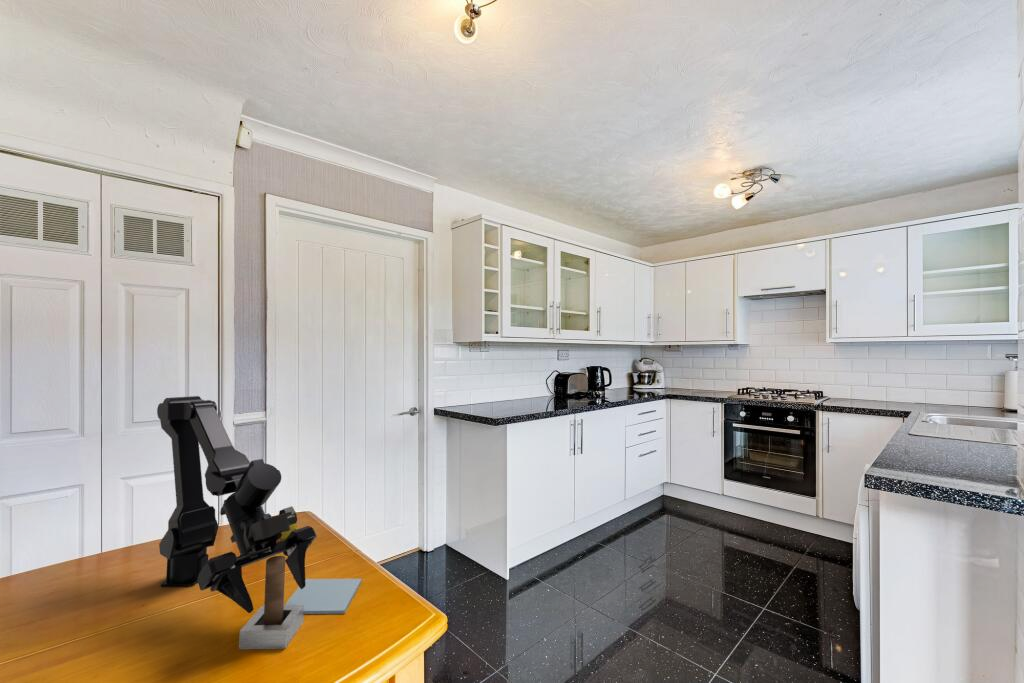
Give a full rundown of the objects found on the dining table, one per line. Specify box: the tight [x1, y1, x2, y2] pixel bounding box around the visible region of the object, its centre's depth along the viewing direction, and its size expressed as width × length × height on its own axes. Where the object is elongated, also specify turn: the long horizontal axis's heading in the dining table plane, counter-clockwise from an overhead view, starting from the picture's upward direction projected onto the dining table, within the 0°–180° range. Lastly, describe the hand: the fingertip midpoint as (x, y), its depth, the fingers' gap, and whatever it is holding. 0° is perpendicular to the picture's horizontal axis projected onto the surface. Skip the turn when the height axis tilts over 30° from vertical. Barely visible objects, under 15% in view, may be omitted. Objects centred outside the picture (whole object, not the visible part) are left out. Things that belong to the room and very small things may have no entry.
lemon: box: [277, 513, 298, 541], centre depth 117 cm, size 6×6×8 cm
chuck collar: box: [238, 604, 305, 650], centre depth 78 cm, size 8×8×3 cm
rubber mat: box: [284, 578, 363, 615], centre depth 90 cm, size 12×12×1 cm
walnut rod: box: [263, 555, 286, 625], centre depth 78 cm, size 3×3×13 cm
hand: (278, 599), depth 77 cm, fingers open, 9 cm apart
